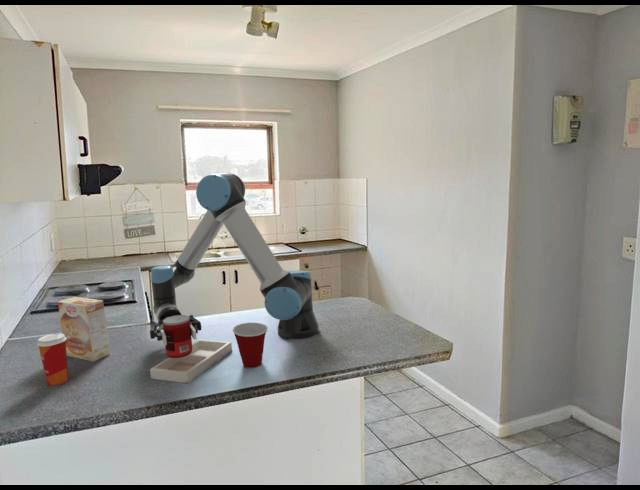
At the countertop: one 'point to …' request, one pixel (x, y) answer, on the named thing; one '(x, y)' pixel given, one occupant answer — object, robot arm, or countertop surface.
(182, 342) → the canned food
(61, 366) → the paper cup
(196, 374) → the divided tray
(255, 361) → the plastic cup
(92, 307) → the coffeecake box
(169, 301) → the robot arm
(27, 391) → the countertop surface
